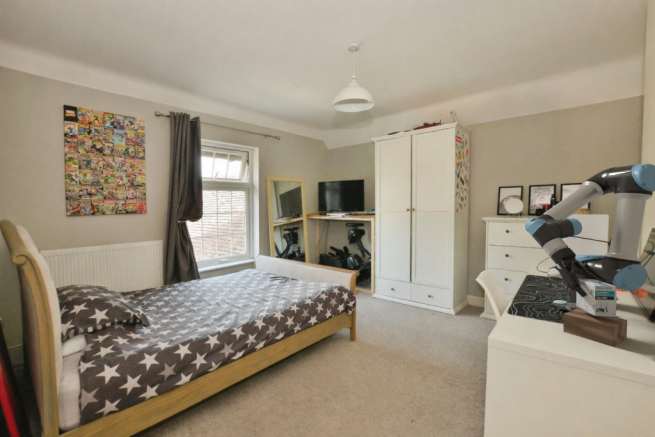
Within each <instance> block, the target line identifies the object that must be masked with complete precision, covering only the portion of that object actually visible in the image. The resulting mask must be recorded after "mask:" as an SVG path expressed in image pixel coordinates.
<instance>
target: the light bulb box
mask: <svg viewBox="0 0 655 437" xmlns="http://www.w3.org/2000/svg"><path fill="white" fill-rule="evenodd" d="M579 282H580V285H581V286H584V287H585V288H586V290H587V291H588V292H589V293H590V294H591V295H592V296H593V298H594V299H595V300H596V301H597V302H598V303H596V304H595V305H593V306H589V305H588V304H587V302H586V301H585V300H584V299H583V298H582V297H581V296H580V294H579V293H578V292H577V299H576V306H577V307H579V308H581V309H583V310H585V311H587V312H589V313H590V314H592V315H594V316H610V317H617V301H616V296H617V290H618V289H617V287H616V286H613V285H610V284H607V283H604V282H601V281H598V280H595V279H579ZM581 286H580V287H581Z"/></svg>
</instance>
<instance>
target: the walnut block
mask: <svg viewBox="0 0 655 437" xmlns="http://www.w3.org/2000/svg"><path fill="white" fill-rule="evenodd" d="M562 330H563V331H562V332H563V333H566V334H569V335H573V336H576V337H580V338H583V339H586V340H589V341H593V342H596V343H599V344H603V345H606V346H609V347H612V348H613V347H615V346H617V345H618V344H620V343H622V342H624V341H626V340H627V339H628V337H627V336H628V319H624V318H621V317H618V316H616V317H610V316H594V315H592V314H590V313H589V312H587V311H585V310H583V309H580V308H578V309H575V310H572V311H568V312H567V311H566V312H564V313H563V329H562Z"/></svg>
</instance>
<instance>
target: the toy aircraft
mask: <svg viewBox="0 0 655 437" xmlns="http://www.w3.org/2000/svg"><path fill="white" fill-rule="evenodd" d="M552 305H553V306H555V307H556V308H558V309H561V310H568V312H570V311H573V310H575V309H578V308H579V307H577V306H576V303H573V302H571V301H569V302H568V301H567V300H561V299H560V300H558V299H557V300H554V301H552ZM580 309H581V308H580Z"/></svg>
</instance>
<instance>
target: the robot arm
mask: <svg viewBox="0 0 655 437" xmlns="http://www.w3.org/2000/svg"><path fill="white" fill-rule="evenodd" d="M654 192H655V165H654V164H652V163H636V164H630V165H624V166H614V167H609V168H606V169H604V170H601V171H599V172H597V173H595V174H594V175H593V176H591V177H589V178H587V179H586V180H585V181H584V182H582V183H581V185H580V187H579V188H578V189H576V190H574V191H573V192H572V193H571V194H569V195H568V196H566V197H565V198H563V199H562V200H561V201H558V203H556V204H555V205H553V206H552V207H551V208H549V209H548V210H547V211H544V212H543V213H542V214H541V215H540V216H538V217H537V218H536V217H533V218H529V219H527V220H526V222H525V224H524V227H525V231H527V233H528V234H530V236H531V238H533V239H534V240H535V241H536V242H537V244H539V246H540V247H541V248H542V249H543V251H545V253H546V254H547V255H548V257H550V259H551V260H552V261H553V263H555V264H556V265H555V266H554V268H555V269H556V270H557V271H558V273H559V275H560V277H561V278H562V280H563V281H564V283H565V285H566V286H567V288H568V289H569V291H568V294H567V301H569V302H570V303H576V299H577V292H578V293H579V294H580V296H581V297H582V298H583V299H584V300H585V301H586V302H587V304H588V305H589V306H593V305H595V304H596V303H598V302H597V301H596V300H595V299H594V298H593V296H592V295H591V294H590V293H589V292H588V291H587V290H586V288H585V287H584V286H581V285H580V282H579V279H595V280H598V281H601V282H604V283H607V284H610V285H613V286H616V287H617V290H622V291H628V292H632V291H637V290H638V289H640V288H642V287H643V286H644V285H645V283H646V281H647V280H648V271H647V269H646V267H644V266H643V265H642V260H641V259H640V258H639V257H638V251H639V246H640V239H641V233H642V227H643V221H644V216H645V209H646V203H647V200H649V199H651V198H653V194H654ZM608 194H613V196H614V197H615V198H617V202H616V209H615V216H614V223H613V229H612V233H611V234H612V235H611V240H610V245H609V251H608V252H607V253H606V254H576V252H574V251H573V249H571V247H569V245H568V244H567V243H566V241H565V240H563V239H567V238H572V237H575V236H579V235H581V233H582V231H583V225H582V222H580V221H579V220H578V218H574V217H571V216H572V215H574V214H575V213H576V212H578V211H579V210H580V209H582V208H583V207H585V206H586V205H587V204H589V203H590V202H592V201H593V200H594V199H599V198H601V197H603V196H606V195H608ZM569 217H570V218H569ZM580 286H581V287H580ZM618 300H619V298H618V296H617V295H616V302H617V301H618ZM619 301H620V300H619Z"/></svg>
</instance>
